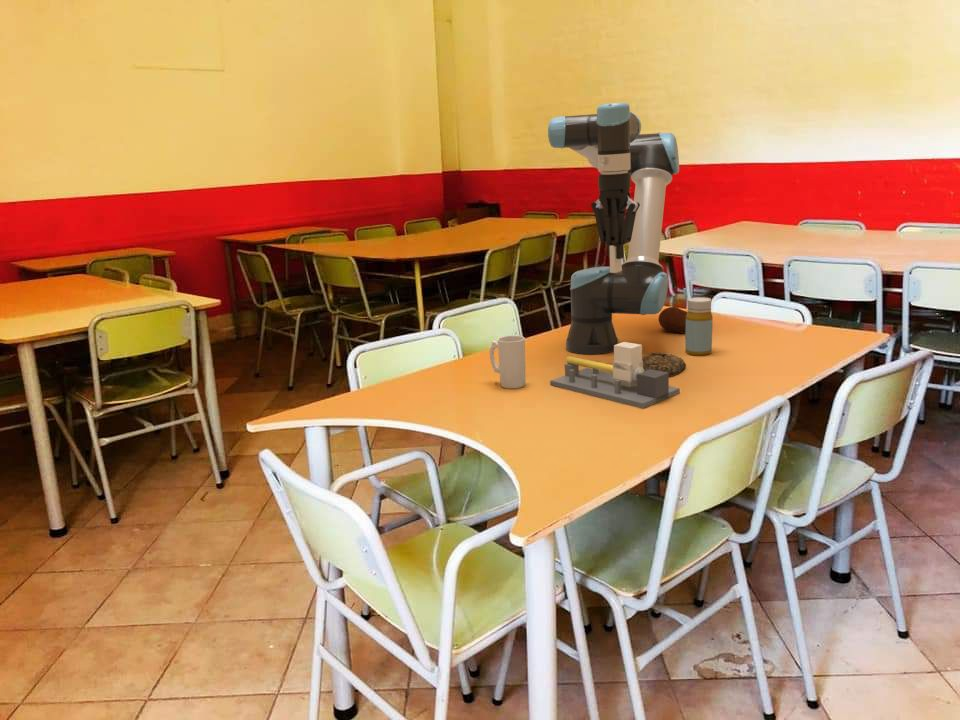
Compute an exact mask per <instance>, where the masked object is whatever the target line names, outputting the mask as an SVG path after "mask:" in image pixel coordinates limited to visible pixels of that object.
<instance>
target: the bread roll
mask: <svg viewBox="0 0 960 720" xmlns="http://www.w3.org/2000/svg"><path fill="white" fill-rule="evenodd" d="M642 361H643V369H644V371H647V370H649V369H652V370H657V371H662V372H667V373H669V377H673V376H675V375H678V374H680V373H682V371H683V370H685V369H686V368H687V364H686V362H685V361H684V359H682V357H679V356H677V355H675V354H672V353H669V352H660V351H659V352H657V351H655V352H651V353H647V354H646V355H643V356H642Z"/></svg>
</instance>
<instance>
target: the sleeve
mask: <svg viewBox="0 0 960 720" xmlns="http://www.w3.org/2000/svg"><path fill="white" fill-rule="evenodd" d="M642 358H643V344H639V343H634V342H627V341H623V342H620V343H619V342H618V344H616V345H614V351H613V362H612V365H613V373H612V374H613V383H614V384H615V380H621V385H622V386H627V387H633V386H635V385H637V382H636V381H634V380H633V378H632V373H633V370H634V369H635V368H636V367H641V368H643V361H642Z"/></svg>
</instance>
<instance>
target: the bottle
mask: <svg viewBox="0 0 960 720" xmlns="http://www.w3.org/2000/svg"><path fill="white" fill-rule="evenodd" d="M686 312H687V315H686V333H685V336H684V337H685V341H684V344H685V347H684V349H685V353H687V355H690V356H695V355H700V356H699V357H701V356H708V355H710V354H711V353H712V351H713V349H712V348H713V321H714V320H713V319H714V318H713V316H714V315H713V314H712V299H711V298H710V297H690V298H687V311H686Z"/></svg>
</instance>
